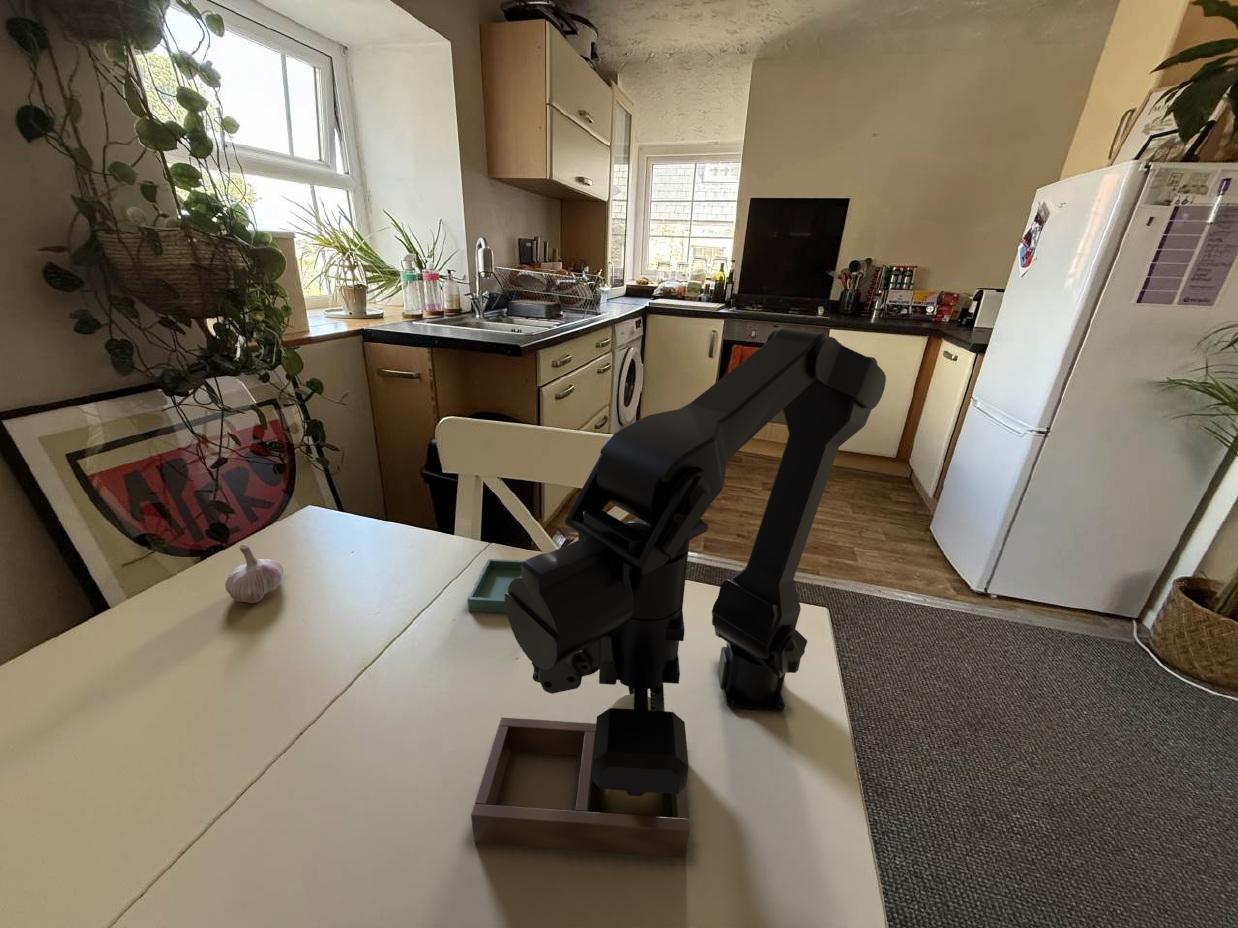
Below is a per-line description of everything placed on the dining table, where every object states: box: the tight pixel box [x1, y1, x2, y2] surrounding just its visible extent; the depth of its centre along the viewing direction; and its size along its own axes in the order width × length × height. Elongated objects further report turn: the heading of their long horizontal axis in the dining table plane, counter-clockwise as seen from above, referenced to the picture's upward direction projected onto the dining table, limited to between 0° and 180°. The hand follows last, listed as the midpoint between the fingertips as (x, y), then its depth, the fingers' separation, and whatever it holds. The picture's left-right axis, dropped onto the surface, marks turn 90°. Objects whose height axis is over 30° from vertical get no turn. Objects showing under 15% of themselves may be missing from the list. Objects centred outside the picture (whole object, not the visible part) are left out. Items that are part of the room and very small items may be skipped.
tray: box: [467, 558, 525, 614], centre depth 73 cm, size 10×10×2 cm
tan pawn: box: [598, 693, 664, 817], centre depth 44 cm, size 6×6×11 cm
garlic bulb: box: [224, 543, 285, 604], centre depth 70 cm, size 8×7×8 cm
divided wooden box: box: [470, 716, 691, 858], centre depth 45 cm, size 18×10×4 cm, turn 87°
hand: (635, 741), depth 43 cm, fingers open, 9 cm apart
